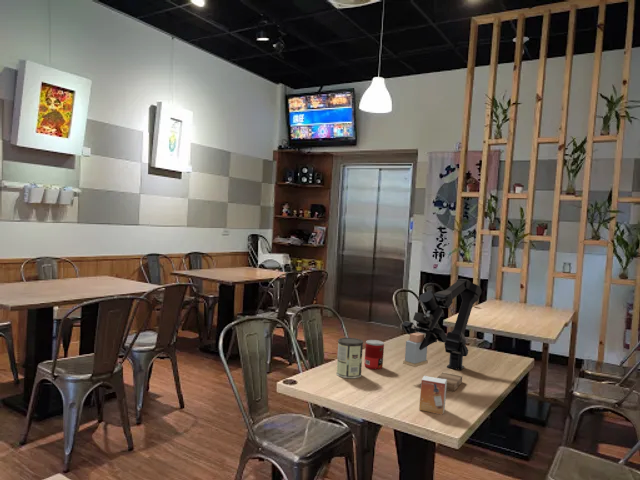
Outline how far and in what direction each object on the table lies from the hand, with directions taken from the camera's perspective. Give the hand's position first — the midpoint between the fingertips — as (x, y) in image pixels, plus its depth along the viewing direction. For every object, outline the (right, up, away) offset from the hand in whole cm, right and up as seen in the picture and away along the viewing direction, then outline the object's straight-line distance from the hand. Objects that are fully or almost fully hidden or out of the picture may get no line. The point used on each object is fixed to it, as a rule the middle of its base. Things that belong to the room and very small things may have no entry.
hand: (414, 347), depth 191 cm
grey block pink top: (+1, -7, +1) cm, 7 cm away
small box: (0, -14, -30) cm, 33 cm away
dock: (+13, -14, -2) cm, 19 cm away
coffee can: (-26, -12, +3) cm, 29 cm away
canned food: (-15, -12, +16) cm, 25 cm away
